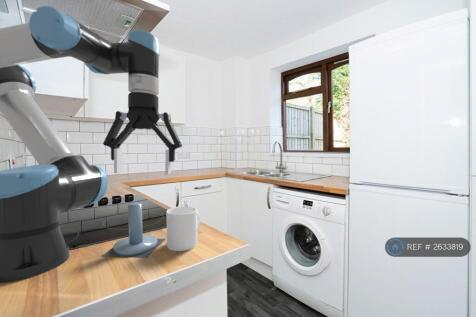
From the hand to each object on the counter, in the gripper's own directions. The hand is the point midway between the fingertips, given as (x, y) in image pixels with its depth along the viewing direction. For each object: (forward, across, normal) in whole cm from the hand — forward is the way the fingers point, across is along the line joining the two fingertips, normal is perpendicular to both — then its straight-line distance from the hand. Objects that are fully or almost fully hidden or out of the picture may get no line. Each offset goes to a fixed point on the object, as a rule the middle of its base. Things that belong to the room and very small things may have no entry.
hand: (143, 173), depth 62 cm
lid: (+20, -2, 0) cm, 20 cm away
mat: (+21, -2, 0) cm, 21 cm away
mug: (+21, +12, +3) cm, 24 cm away
